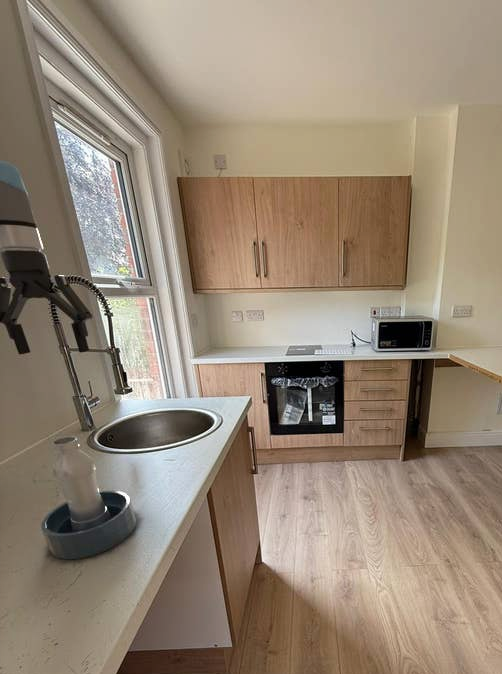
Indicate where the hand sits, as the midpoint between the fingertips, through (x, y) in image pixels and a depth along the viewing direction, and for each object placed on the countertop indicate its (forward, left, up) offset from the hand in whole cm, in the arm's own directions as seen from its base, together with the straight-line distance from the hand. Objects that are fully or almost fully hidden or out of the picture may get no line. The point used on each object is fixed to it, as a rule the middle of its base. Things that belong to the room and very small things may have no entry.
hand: (54, 352), depth 82 cm
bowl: (+16, -28, -32) cm, 45 cm away
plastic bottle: (+16, -28, -31) cm, 45 cm away
